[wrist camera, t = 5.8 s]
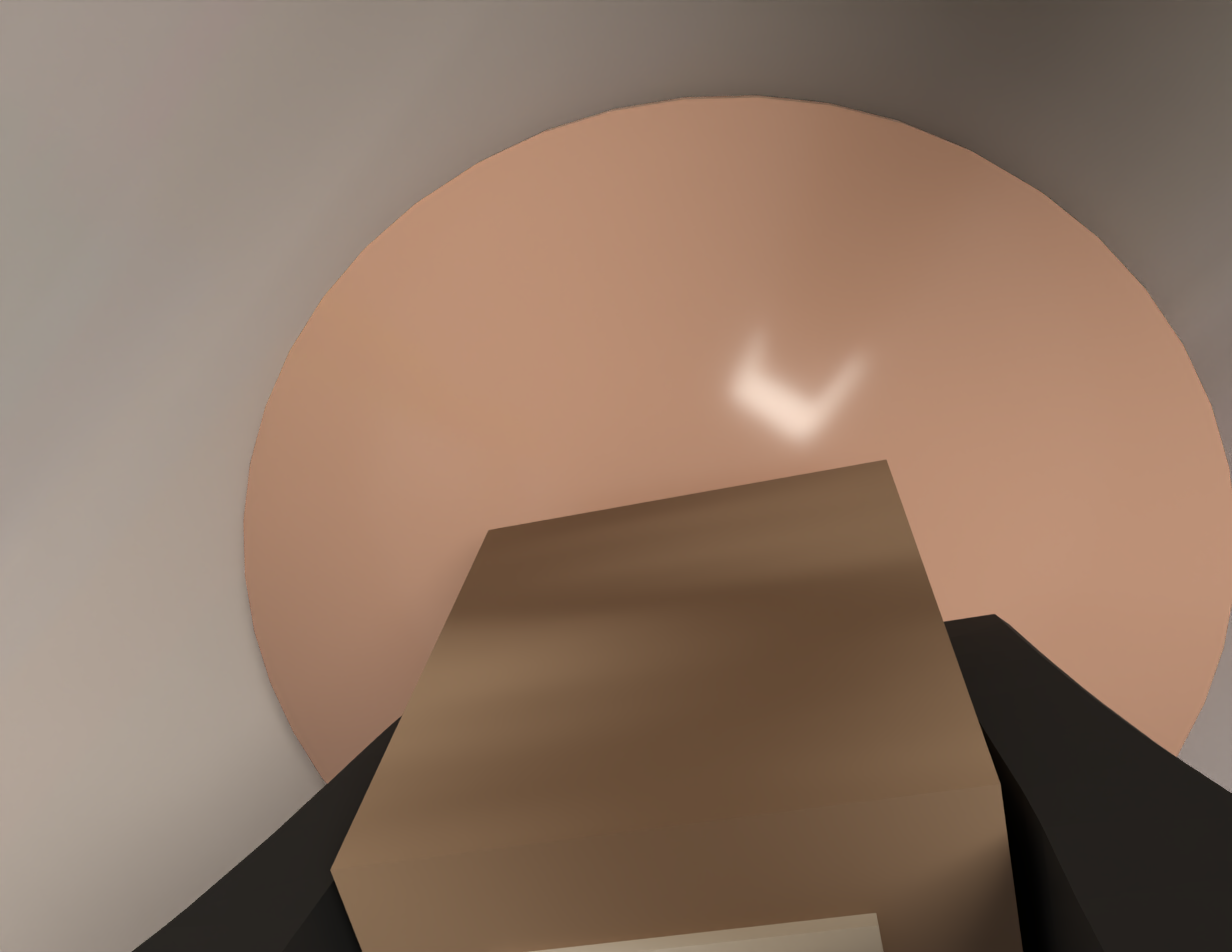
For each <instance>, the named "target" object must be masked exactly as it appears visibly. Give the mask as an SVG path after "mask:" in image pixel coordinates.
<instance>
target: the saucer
mask: <svg viewBox="0 0 1232 952" xmlns="http://www.w3.org/2000/svg"><path fill="white" fill-rule="evenodd" d="M880 460H887V462H888V465H889V468H890V471H891V474H892V477H893V480H894V482H895V485H896V488H897V491H898V494H899V497H900V499H901V502H902V505H903V508H904V511H905V514H906V517H907V519H908V522H909V525H910V528H911V531H912V534H913V536H914V539H915V542H916V545H917V548H918V551H919V553H920V556H921V559H922V562H923V565H924V568H925V571H926V573H927V576H928V579H929V582H930V585H931V588H932V590H933V593H934V596H935V599H936V602H937V605H938V608H939V610H940V613H941V616H942V619H943V622H944V621H951V620H957V619H964V618H970V617H977V616H984V615H990V614H996V615H997V616H998V617H1000V618H1001V619H1003V620H1004V621H1005V622H1007V623H1008V624H1010V625H1011V626H1012V627H1013V628H1014V629H1015V630H1016V631H1017V632H1019V633H1020V634H1021V635H1022V636H1023V637H1024V638H1025V639H1026V640H1028V641H1029V642H1030V643H1031V644H1032V645H1033V646H1034V647H1035V648H1037V649H1038V650H1039V651H1040V652H1041V653H1042V654H1044V655H1045V656H1046V657H1047V658H1048V659H1049V660H1051V661H1052V662H1053V663H1054V664H1055V665H1056V666H1058V667H1059V668H1060V669H1061V670H1063V671H1064V672H1065V673H1066V674H1067V675H1069V676H1070V677H1071V678H1072V679H1073V680H1075V681H1076V682H1077V683H1078V684H1079V685H1081V686H1082V687H1083V688H1084V689H1086V690H1087V691H1088V692H1089V693H1091V694H1092V695H1093V696H1094V697H1096V698H1097V699H1098V700H1100V701H1101V702H1102V703H1103V704H1105V705H1106V706H1107V707H1109V708H1110V709H1111V710H1113V711H1114V712H1115V713H1117V714H1118V715H1119V716H1121V717H1122V718H1123V719H1125V720H1126V721H1127V722H1129V723H1130V724H1131V725H1133V726H1134V727H1136V728H1137V729H1138V730H1140V731H1141V732H1142V733H1144V734H1145V735H1146V736H1148V737H1149V738H1150V739H1152V740H1153V741H1154V742H1156V743H1157V744H1159V745H1160V746H1161V747H1163V748H1164V749H1166V750H1167V751H1169V752H1170V753H1171V754H1173V755H1174V756H1176V757H1177V756H1178V754H1179V752H1180V750H1181V748H1182V746H1183V744H1184V742H1185V740H1186V738H1187V736H1188V734H1189V732H1190V730H1191V728H1192V727H1193V725H1194V723H1195V721H1196V719H1197V717H1198V715H1199V713H1200V711H1201V709H1202V707H1203V705H1204V703H1205V700H1206V697H1207V694H1208V691H1209V689H1210V686H1211V683H1212V680H1213V677H1214V674H1215V671H1216V668H1217V666H1218V663H1219V660H1220V657H1221V654H1222V651H1223V648H1224V643H1225V638H1226V632H1227V627H1228V622H1229V616H1230V611H1231V606H1232V487H1231V479H1230V471H1229V465H1228V462H1227V458H1226V455H1225V451H1224V448H1223V444H1222V441H1221V437H1220V434H1219V430H1218V427H1217V423H1216V420H1215V416H1214V413H1213V409H1212V406H1211V403H1210V401H1209V399H1208V397H1207V395H1206V393H1205V391H1204V388H1203V386H1202V384H1201V382H1200V380H1199V378H1198V376H1197V373H1196V371H1195V369H1194V367H1193V365H1192V363H1191V361H1190V358H1189V356H1188V354H1187V352H1186V350H1185V348H1184V346H1183V344H1182V343H1181V341H1180V340H1179V338H1178V337H1177V335H1176V334H1175V332H1174V331H1173V329H1172V328H1171V326H1170V325H1169V323H1168V322H1167V320H1166V319H1165V317H1164V316H1163V314H1162V313H1161V311H1160V310H1159V308H1158V307H1157V305H1156V304H1155V302H1154V301H1153V299H1152V298H1151V296H1150V295H1149V293H1148V292H1147V290H1146V289H1145V288H1144V287H1143V286H1142V285H1141V284H1140V282H1139V281H1138V280H1137V279H1136V278H1135V277H1134V276H1133V275H1132V274H1131V273H1130V272H1129V271H1128V269H1127V268H1126V267H1125V266H1124V265H1123V264H1122V263H1121V262H1120V261H1119V260H1118V259H1117V258H1116V256H1115V255H1114V254H1113V253H1112V252H1111V251H1110V250H1109V249H1108V248H1107V247H1106V246H1105V244H1104V243H1103V242H1102V241H1101V240H1100V239H1099V238H1098V237H1097V236H1096V235H1094V234H1093V233H1092V232H1091V231H1089V230H1088V229H1087V228H1086V227H1084V226H1083V225H1082V224H1081V223H1079V222H1078V221H1077V220H1076V219H1074V218H1073V217H1072V216H1071V215H1069V214H1068V213H1067V212H1066V211H1064V210H1063V209H1062V208H1061V207H1060V206H1058V205H1057V204H1056V203H1055V202H1053V201H1052V200H1051V199H1050V198H1048V197H1047V196H1046V195H1045V194H1043V193H1042V192H1041V191H1039V190H1037V189H1035V188H1034V187H1032V186H1030V185H1029V184H1027V183H1025V182H1023V181H1022V180H1020V179H1018V178H1017V177H1015V176H1013V175H1012V174H1010V173H1008V172H1006V171H1005V170H1003V169H1001V168H1000V167H998V166H996V165H995V164H993V163H991V162H989V161H988V160H986V159H984V158H983V157H981V156H979V155H977V154H976V153H974V152H972V151H970V150H969V149H967V148H965V147H962V146H960V145H957V144H955V143H953V142H950V141H948V140H945V139H943V138H940V137H938V136H935V135H933V134H931V133H928V132H926V131H923V130H921V129H918V128H916V127H913V126H911V125H909V124H906V123H904V122H901V121H898V120H894V119H890V118H886V117H882V116H879V115H875V114H871V113H867V112H863V111H859V110H855V109H851V108H847V107H843V106H839V105H835V104H831V103H824V102H815V101H806V100H797V99H788V98H779V97H770V96H761V95H741V96H704V97H682V98H676V99H670V100H664V101H658V102H652V103H646V104H640V105H634V106H628V107H622V108H615V109H612V110H608V111H605V112H602V113H599V114H596V115H592V116H589V117H586V118H583V119H579V120H576V121H573V122H570V123H567V124H563V125H560V126H557V127H554V128H551V129H547V130H545V131H543V132H541V133H539V134H537V135H535V136H532V137H530V138H528V139H526V140H524V141H522V142H520V143H518V144H515V145H513V146H511V147H509V148H507V149H505V150H503V151H501V152H498V153H496V154H494V155H492V156H490V157H488V158H486V159H484V160H482V161H480V162H479V163H477V164H475V165H474V166H472V167H471V168H469V169H468V170H466V171H465V172H463V173H461V174H460V175H458V176H457V177H455V178H454V179H452V180H451V181H449V182H448V183H446V184H445V185H443V186H442V187H440V188H439V189H437V190H436V191H434V192H432V193H431V194H429V195H428V196H426V197H425V198H423V199H422V200H420V201H419V202H417V203H416V204H414V205H413V206H412V207H411V208H410V209H409V210H408V211H406V212H405V213H404V214H403V215H402V216H401V217H400V218H399V219H397V220H396V221H395V222H394V223H393V224H392V225H391V226H389V227H388V228H387V229H386V230H385V231H384V232H383V233H382V234H380V235H379V236H378V237H377V238H376V239H375V240H374V241H372V242H371V243H370V244H369V245H368V246H367V247H366V248H365V249H364V250H363V251H362V252H361V253H360V254H359V256H358V257H357V258H356V259H355V260H354V262H353V263H352V264H351V265H350V266H349V267H348V269H347V270H346V271H345V272H344V273H343V274H342V276H341V277H340V278H339V279H338V280H337V282H336V283H335V284H334V285H333V286H332V287H331V289H330V290H329V291H328V292H327V293H326V295H325V296H324V297H323V298H322V300H321V301H320V303H319V305H318V306H317V308H316V309H315V311H314V313H313V314H312V316H311V317H310V319H309V321H308V322H307V324H306V325H305V327H304V329H303V330H302V332H301V333H300V335H299V337H298V338H297V340H296V342H295V343H294V345H293V346H292V348H291V350H290V351H289V354H288V356H287V358H286V360H285V363H284V365H283V367H282V370H281V372H280V374H279V377H278V379H277V381H276V383H275V386H274V388H273V390H272V393H271V395H270V397H269V400H268V402H267V404H266V407H265V410H264V414H263V418H262V421H261V425H260V429H259V432H258V436H257V440H256V444H255V447H254V451H253V455H252V459H251V462H250V469H249V478H248V486H247V495H246V504H245V512H244V556H245V579H246V585H247V591H248V597H249V603H250V609H251V615H252V620H253V626H254V632H255V635H256V638H257V641H258V644H259V648H260V651H261V654H262V657H263V660H264V664H265V667H266V670H267V673H268V676H269V680H270V683H271V685H272V687H273V689H274V691H275V694H276V696H277V698H278V700H279V702H280V704H281V707H282V709H283V711H284V713H285V715H286V717H287V719H288V722H289V724H290V726H291V728H292V730H293V732H294V734H295V736H296V737H297V739H298V740H299V742H300V743H301V745H302V747H303V748H304V750H305V751H306V753H307V755H308V756H309V758H310V759H311V761H312V763H313V764H314V766H315V767H316V769H317V771H318V772H319V774H320V775H321V777H322V778H323V780H324V781H325V782H326V783H327V784H328V783H329V782H330V781H331V780H332V779H333V778H334V777H335V776H336V775H337V774H338V773H339V772H340V771H342V770H343V769H344V768H345V767H346V766H347V765H348V764H349V763H350V762H351V761H352V760H353V759H354V758H355V757H356V756H357V755H359V754H360V753H361V752H362V751H363V750H364V749H365V748H366V747H367V746H368V745H369V744H370V743H371V742H373V741H374V740H375V739H376V738H377V737H378V736H379V735H380V734H381V733H382V732H383V731H385V730H386V729H387V728H388V727H389V726H390V725H391V724H392V723H394V722H395V721H396V720H397V719H398V718H399V717H401V716H402V715H403V713H404V710H405V708H406V706H407V704H408V702H409V700H410V698H411V695H412V693H413V691H414V689H415V687H416V685H417V683H418V680H419V678H420V676H421V674H422V672H423V670H424V668H425V665H426V663H427V661H428V659H429V657H430V655H431V652H432V650H433V648H434V646H435V644H436V642H437V640H438V637H439V635H440V633H441V631H442V629H443V627H444V625H445V622H446V620H447V618H448V616H449V614H450V612H451V609H452V607H453V605H454V603H455V601H456V599H457V597H458V594H459V592H460V590H461V588H462V586H463V584H464V582H465V579H466V577H467V575H468V573H469V571H470V569H471V567H472V564H473V562H474V560H475V558H476V556H477V554H478V551H479V549H480V547H481V545H482V543H483V541H484V539H485V536H486V534H487V532H488V530H491V529H497V528H503V527H508V526H514V525H520V524H525V523H531V522H536V521H542V520H548V519H553V518H559V517H565V516H570V515H576V514H582V513H587V512H593V511H598V510H604V509H610V508H615V507H621V506H627V505H632V504H638V503H644V502H649V501H655V500H660V499H666V498H672V497H677V496H683V495H689V494H694V493H700V492H706V491H711V490H717V489H723V488H728V487H734V486H739V485H745V484H751V483H756V482H762V481H768V480H773V479H779V478H785V477H790V476H796V475H801V474H807V473H813V472H818V471H824V470H830V469H835V468H841V467H847V466H852V465H858V464H864V463H869V462H875V461H880Z"/></svg>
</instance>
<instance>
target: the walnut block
mask: <svg viewBox="0 0 1232 952" xmlns="http://www.w3.org/2000/svg"><path fill="white" fill-rule="evenodd" d="M330 871H331V873H332V876H333V878H334V881H335V883H336V886H337V888H338V891H339V894H340V896H341V899H342V901H343V904H344V906H345V909H346V911H347V914H348V916H349V919H350V922H351V924H352V927H353V929H354V932H355V934H356V937H357V939H358V942H359V944H360V947H361V949H362V952H1023V948H1022V941H1021V933H1020V926H1019V918H1018V911H1017V903H1016V896H1015V888H1014V881H1013V873H1012V866H1011V859H1010V851H1009V844H1008V836H1007V829H1006V821H1005V814H1004V806H1003V799H1002V791H1001V784H1000V781H999V778H998V775H997V773H996V770H995V767H994V764H993V761H992V758H991V755H990V753H989V750H988V747H987V744H986V741H985V738H984V736H983V733H982V730H981V727H980V724H979V721H978V719H977V716H976V713H975V710H974V707H973V704H972V701H971V699H970V696H969V693H968V690H967V687H966V684H965V682H964V679H963V676H962V673H961V670H960V667H959V664H958V662H957V659H956V656H955V653H954V650H953V647H952V645H951V642H950V639H949V636H948V633H947V630H946V627H945V625H944V622H943V619H942V616H941V613H940V610H939V608H938V605H937V602H936V599H935V596H934V593H933V590H932V588H931V585H930V582H929V579H928V576H927V573H926V571H925V568H924V565H923V562H922V559H921V556H920V553H919V551H918V548H917V545H916V542H915V539H914V536H913V534H912V531H911V528H910V525H909V522H908V519H907V517H906V514H905V511H904V508H903V505H902V502H901V499H900V497H899V494H898V491H897V488H896V485H895V482H894V480H893V477H892V474H891V471H890V468H889V465H888V462H887V460H880V461H875V462H869V463H864V464H858V465H852V466H847V467H841V468H835V469H830V470H824V471H818V472H813V473H807V474H801V475H796V476H790V477H785V478H779V479H773V480H768V481H762V482H756V483H751V484H745V485H739V486H734V487H728V488H723V489H717V490H711V491H706V492H700V493H694V494H689V495H683V496H677V497H672V498H666V499H660V500H655V501H649V502H644V503H638V504H632V505H627V506H621V507H615V508H610V509H604V510H598V511H593V512H587V513H582V514H576V515H570V516H565V517H559V518H553V519H548V520H542V521H536V522H531V523H525V524H520V525H514V526H508V527H503V528H497V529H491V530H488V532H487V534H486V536H485V539H484V541H483V543H482V545H481V547H480V549H479V551H478V554H477V556H476V558H475V560H474V562H473V564H472V567H471V569H470V571H469V573H468V575H467V577H466V579H465V582H464V584H463V586H462V588H461V590H460V592H459V594H458V597H457V599H456V601H455V603H454V605H453V607H452V609H451V612H450V614H449V616H448V618H447V620H446V622H445V625H444V627H443V629H442V631H441V633H440V635H439V637H438V640H437V642H436V644H435V646H434V648H433V650H432V652H431V655H430V657H429V659H428V661H427V663H426V665H425V668H424V670H423V672H422V674H421V676H420V678H419V680H418V683H417V685H416V687H415V689H414V691H413V693H412V695H411V698H410V700H409V702H408V704H407V706H406V708H405V710H404V713H403V715H402V717H401V719H400V721H399V723H398V726H397V728H396V730H395V732H394V734H393V736H392V738H391V741H390V743H389V745H388V747H387V749H386V751H385V753H384V756H383V758H382V760H381V762H380V764H379V766H378V769H377V771H376V773H375V775H374V777H373V779H372V781H371V784H370V786H369V788H368V790H367V792H366V794H365V796H364V799H363V801H362V803H361V805H360V807H359V809H358V812H357V814H356V816H355V818H354V820H353V822H352V824H351V827H350V829H349V831H348V833H347V835H346V837H345V839H344V842H343V844H342V846H341V848H340V850H339V852H338V854H337V857H336V859H335V861H334V863H333V865H332V867H331V870H330Z"/></svg>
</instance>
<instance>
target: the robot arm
mask: <svg viewBox="0 0 1232 952" xmlns="http://www.w3.org/2000/svg"><path fill="white" fill-rule="evenodd" d="M944 625H945V627H946V630H947V633H948V636H949V639H950V642H951V645H952V647H953V650H954V653H955V656H956V659H957V662H958V664H959V667H960V670H961V673H962V676H963V679H964V682H965V684H966V687H967V690H968V693H969V696H970V699H971V701H972V704H973V707H974V710H975V713H976V716H977V719H978V721H979V724H980V727H981V730H982V733H983V736H984V738H985V741H986V744H987V747H988V750H989V753H990V755H991V758H992V761H993V764H994V767H995V770H996V773H997V775H998V778H999V781H1000V784H1001V791H1002V799H1003V806H1004V814H1005V821H1006V829H1007V836H1008V844H1009V851H1010V859H1011V866H1012V873H1013V881H1014V888H1015V896H1016V903H1017V911H1018V918H1019V926H1020V933H1021V941H1022V948H1023V952H1232V793H1230V792H1229V791H1227V790H1226V789H1224V788H1223V787H1221V786H1220V785H1218V784H1216V783H1215V782H1213V781H1212V780H1210V779H1209V778H1207V777H1206V776H1204V775H1203V774H1201V773H1200V772H1198V771H1197V770H1195V769H1193V768H1192V767H1190V766H1189V765H1187V764H1186V763H1184V762H1183V761H1181V760H1180V759H1179V758H1177V757H1176V756H1174V755H1173V754H1171V753H1170V752H1169V751H1167V750H1166V749H1164V748H1163V747H1161V746H1160V745H1159V744H1157V743H1156V742H1154V741H1153V740H1152V739H1150V738H1149V737H1148V736H1146V735H1145V734H1144V733H1142V732H1141V731H1140V730H1138V729H1137V728H1136V727H1134V726H1133V725H1131V724H1130V723H1129V722H1127V721H1126V720H1125V719H1123V718H1122V717H1121V716H1119V715H1118V714H1117V713H1115V712H1114V711H1113V710H1111V709H1110V708H1109V707H1107V706H1106V705H1105V704H1103V703H1102V702H1101V701H1100V700H1098V699H1097V698H1096V697H1094V696H1093V695H1092V694H1091V693H1089V692H1088V691H1087V690H1086V689H1084V688H1083V687H1082V686H1081V685H1079V684H1078V683H1077V682H1076V681H1075V680H1073V679H1072V678H1071V677H1070V676H1069V675H1067V674H1066V673H1065V672H1064V671H1063V670H1061V669H1060V668H1059V667H1058V666H1056V665H1055V664H1054V663H1053V662H1052V661H1051V660H1049V659H1048V658H1047V657H1046V656H1045V655H1044V654H1042V653H1041V652H1040V651H1039V650H1038V649H1037V648H1035V647H1034V646H1033V645H1032V644H1031V643H1030V642H1029V641H1028V640H1026V639H1025V638H1024V637H1023V636H1022V635H1021V634H1020V633H1019V632H1017V631H1016V630H1015V629H1014V628H1013V627H1012V626H1011V625H1010V624H1008V623H1007V622H1005V621H1004V620H1003V619H1001V618H1000V617H998V616H997V615H996V614H990V615H984V616H977V617H970V618H964V619H957V620H951V621H944ZM401 717H402V716H401ZM401 717H399V718H398V719H397V720H396V721H395V722H394V723H392V724H391V725H390V726H389V727H388V728H387V729H386V730H385V731H383V732H382V733H381V734H380V735H379V736H378V737H377V738H376V739H375V740H374V741H373V742H371V743H370V744H369V745H368V746H367V747H366V748H365V749H364V750H363V751H362V752H361V753H360V754H359V755H357V756H356V757H355V758H354V759H353V760H352V761H351V762H350V763H349V764H348V765H347V766H346V767H345V768H344V769H343V770H342V771H340V772H339V773H338V774H337V775H336V776H335V777H334V778H333V779H332V780H331V781H330V782H329V783H328V784H327V785H325V786H324V787H323V788H322V789H321V790H320V791H319V792H318V793H317V794H316V795H315V796H314V797H313V798H311V799H310V800H309V801H308V802H307V803H306V804H305V805H304V806H303V807H302V808H301V809H300V810H299V811H297V812H296V813H295V814H294V815H293V816H292V817H291V818H290V819H289V820H288V821H287V822H286V823H285V824H284V825H282V826H281V827H280V828H279V829H278V830H277V831H276V832H275V833H274V834H273V835H271V836H270V837H269V838H268V839H267V840H266V841H265V842H263V843H262V844H261V845H260V846H259V847H258V848H256V849H255V850H254V851H253V852H252V853H251V854H249V855H248V856H247V857H246V858H245V859H244V860H242V861H241V862H240V863H239V864H238V865H237V866H235V867H234V868H233V869H232V870H231V871H230V872H228V873H227V874H226V875H225V876H224V877H223V878H222V879H220V880H219V881H218V882H217V883H216V884H215V885H213V886H212V887H211V888H210V889H209V890H208V891H206V892H205V893H204V894H203V895H202V896H201V897H199V898H198V899H197V900H196V901H195V902H194V903H192V904H191V905H190V906H189V907H188V908H187V909H185V910H184V911H183V912H182V913H180V914H179V915H178V916H177V917H176V918H174V919H173V920H172V921H171V922H169V923H168V924H167V925H166V926H164V927H163V928H162V929H161V930H159V931H158V932H157V933H155V934H154V935H153V936H151V937H150V938H149V939H148V940H146V941H145V942H144V943H142V944H141V945H140V946H139V947H137V948H136V949H135V950H133V951H132V952H362V949H361V947H360V944H359V942H358V939H357V937H356V934H355V932H354V929H353V927H352V924H351V922H350V919H349V916H348V914H347V911H346V909H345V906H344V904H343V901H342V899H341V896H340V894H339V891H338V888H337V886H336V883H335V881H334V878H333V876H332V873H331V871H330V870H331V867H332V865H333V863H334V861H335V859H336V857H337V854H338V852H339V850H340V848H341V846H342V844H343V842H344V839H345V837H346V835H347V833H348V831H349V829H350V827H351V824H352V822H353V820H354V818H355V816H356V814H357V812H358V809H359V807H360V805H361V803H362V801H363V799H364V796H365V794H366V792H367V790H368V788H369V786H370V784H371V781H372V779H373V777H374V775H375V773H376V771H377V769H378V766H379V764H380V762H381V760H382V758H383V756H384V753H385V751H386V749H387V747H388V745H389V743H390V741H391V738H392V736H393V734H394V732H395V730H396V728H397V726H398V723H399V721H400V719H401Z"/></svg>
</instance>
